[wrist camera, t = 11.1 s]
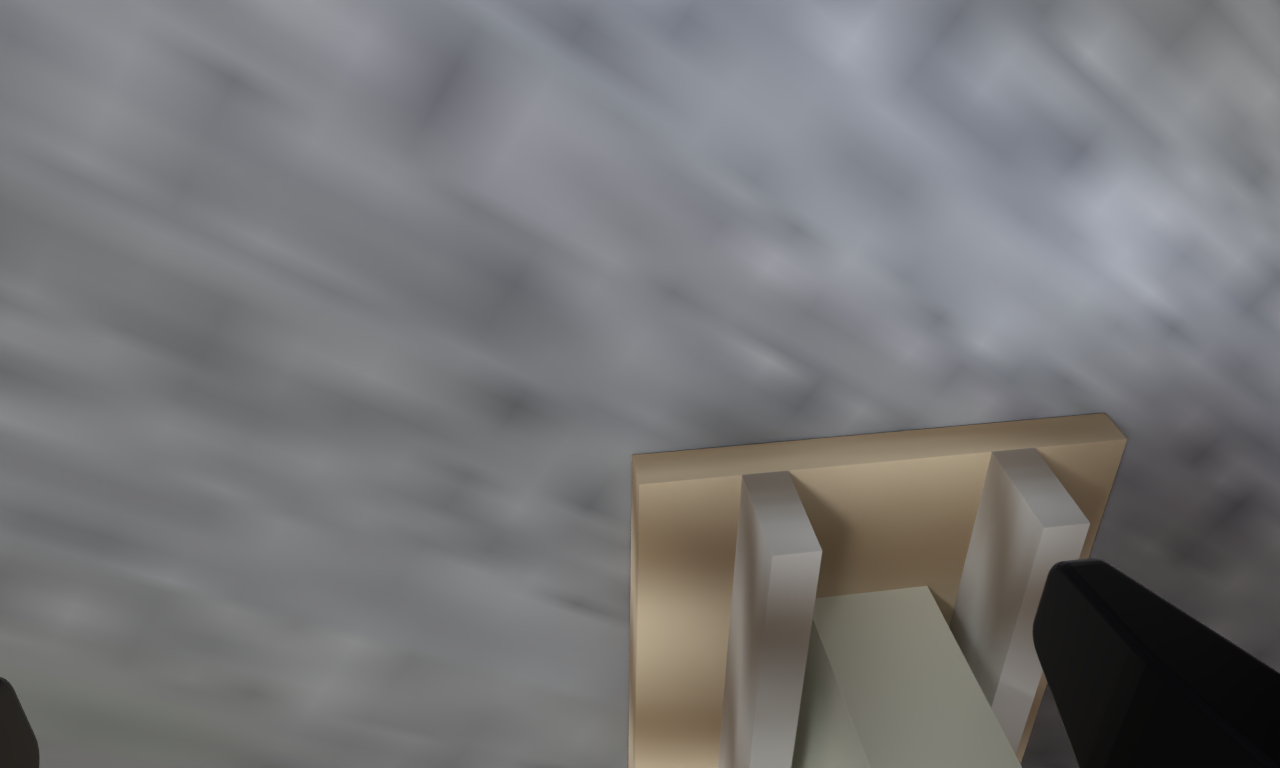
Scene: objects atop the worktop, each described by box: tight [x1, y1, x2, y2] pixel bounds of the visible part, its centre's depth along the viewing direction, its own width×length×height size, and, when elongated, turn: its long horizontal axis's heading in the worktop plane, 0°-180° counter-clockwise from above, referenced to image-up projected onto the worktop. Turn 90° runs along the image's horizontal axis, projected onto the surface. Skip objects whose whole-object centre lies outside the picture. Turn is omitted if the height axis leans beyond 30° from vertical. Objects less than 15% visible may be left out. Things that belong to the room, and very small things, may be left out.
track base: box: [628, 413, 1127, 768], centre depth 28 cm, size 17×11×4 cm, turn 179°
